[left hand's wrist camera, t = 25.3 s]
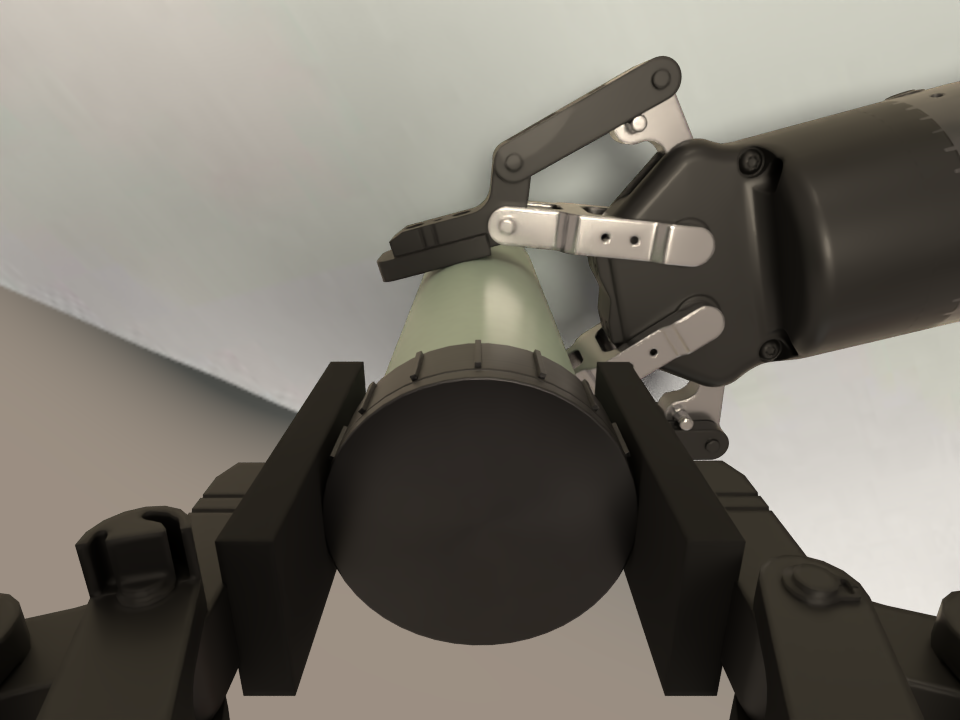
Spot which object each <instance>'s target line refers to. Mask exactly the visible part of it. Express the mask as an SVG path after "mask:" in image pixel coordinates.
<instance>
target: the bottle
mask: <svg viewBox="0 0 960 720" xmlns="http://www.w3.org/2000/svg"><path fill="white" fill-rule="evenodd" d="M475 340H481V343H492V344H501V345H509V346H513V347H517V348H521V349H525V350H528V351H531V352H534V350H535V349H536V350H539V351H540V352H541V355H542V356H544V357H546V358H548V359H550V360H552V361H554V362H556V363H558V364H559V365H561V366H563V367H564V368H565V369H567V370H568V371H570V372H571V373H572V374H574V375H575V372H574V370H573V367H572V365H571V362H570V359H569V357H568V354H567V352H566V349H565V347H564V344H563V342H562V339H561V336H560V334H559V331H558V329H557V326H556V324H555V321H554V319H553V316H552V313H551V311H550V308H549V306H548V303H547V301H546V298H545V296H544V293H543V290H542V288H541V285H540V283H539V280H538V278H537V275H536V273H535V270H534V267H533V265H532V262H531V260H530V258H529V255H528V254H527V252H526V250H525V249H524V248H523V247H517V246H506V245H498V246H494V247H491V256H487V257H484V258H480V259H476V260H472V261H468V262H463V263H459V264H456V265H453V266H449V267H445V268H441V269H438V270H434V271H430V272H426V273H425V274H424V276H423V279H422V282H421V284H420V287H419V289H418V292H417V294H416V297H415V299H414V302H413V305H412V307H411V310H410V312H409V315H408V317H407V320H406V322H405V325H404V328H403V330H402V333H401V335H400V338H399V340H398V343H397V346H396V348H395V351H394V353H393V356H392V358H391V361H390V363H389V366H388V369H387V371H386V374H385V376H386V375H387V374H388V373H390V372H391V371H392V370H394V369H395V368H396V367H398V366H400V365H402V364H403V363H405V362H407V361H409V360H410V359H412V358H414V357H415V356H416V353H417V352H419V351H422V353H423V354H424V353H427V352H429V351H432V350H436V349H440V348H443V347H447V346H453V345H460V344H467V343H475ZM575 376H576V375H575Z"/></svg>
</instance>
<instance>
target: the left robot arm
mask: <svg viewBox="0 0 960 720" xmlns="http://www.w3.org/2000/svg"><path fill="white" fill-rule="evenodd" d="M365 394H366V389H365V376H364V362H330V364H329V365H328V367H327V369H326V370H325V372H324V373H323V375H322V376H321V378H320V379H319V381H318V382H317V384H316V386H315V387H314V389H313V390H312V392H311V393H310V395H309V396H308V398H307V399H306V401H305V403H304V404H303V406H302V407H301V409H300V410H299V412H298V413H297V415H296V417H295V418H294V420H293V421H292V423H291V424H290V426H289V427H288V429H287V430H286V432H285V433H284V435H283V437H282V438H281V440H280V441H279V443H278V444H277V446H276V447H275V449H274V450H273V452H272V454H271V455H270V457H269V458H268V460H267V461H266V463H237V464H236V465H234V466H233V467H231V468H230V469H228V470H227V471H225V472H224V473H222V474H221V475H219V476H217V477H216V478H215V480H214V481H213V482H212V484H211V485H210V486H209V487H208V489H207V490H206V491H205V493H204V494H203V498H200V499H199V501H198V502H197V503H196V505H195V506H194V507H193V508H192V513H189V514H188V515H187V514H186V513H184V512H183V511H182V510H181V509H177V508H172V507H168V506H152V507H143V508H138V509H135V510H130V511H126V512H123V513H120V514H118V515H116V516H113V517H111V518H108V519H106V520H104V521H102V522H101V523H99V524H98V525H96V526H95V527H93V528H92V529H90V530H88V531H87V532H86V533H85V534H84V535H83V536H82V537H81V539H80V540H79V541H78V542H77V543H76V545H75V547H76V550H77V554H78V557H79V561H80V564H81V567H82V571H83V574H84V578H85V581H86V585H87V588H88V592H89V595H90V600H89V602H88V604H87V605H84V606H80V607H77V608H73V609H68V610H63V611H59V612H54V613H50V614H45V615H40V616H36V617H31V618H27V619H25V618H24V615H23V613H22V610H21V607H20V604H19V602H18V601H17V600H16V599H14V598H13V597H12V596H11V595H9V594H2V593H0V720H230V718H229V711H228V705H227V699H226V694H227V692H228V689H229V687H230V685H231V683H232V681H233V678H234V676H235V674H236V672H237V669H239V674H240V679H241V685H242V690H243V695H244V696H295V695H296V692H297V689H298V686H299V683H300V680H301V677H302V674H303V671H304V668H305V665H306V662H307V659H308V655H309V652H310V649H311V646H312V643H313V640H314V637H315V634H316V631H317V628H318V625H319V622H320V619H321V616H322V613H323V610H324V607H325V603H326V600H327V597H328V594H329V591H330V588H331V585H332V582H333V579H334V576H335V573H336V570H337V568H336V566H335V564H334V562H333V560H332V558H331V555H330V553H329V551H328V547H327V544H326V540H325V533H324V524H323V514H322V495H323V489H324V484H325V480H326V477H327V474H328V471H329V468H330V466H331V463H332V461H329V460H328V459H329V457H330V454H331V452H332V450H333V448H334V446H335V443H336V441H337V439H338V437H339V435H340V433H341V430H342V428H343V426H346V427H348V425H349V423H350V420H351V419H352V417H353V415H354V413H355V411H356V409H357V407H358V406H359V404H360V403H361V401H362V400H363V399H364V397H365ZM594 395H595V397H596V398H597V399H598V400H599V402H600V403H601V405H602V407H603V408H604V410H605V412H606V413H607V415H608V417H609V419H610V421H611V424H612V423H615V422H616V424H617V426H618V428H619V431H620V433H621V435H622V437H623V439H624V441H625V443H626V446H627V448H628V450H629V452H630V455H631V457H629V458H627V459H628V462H629V464H630V467H631V469H632V472H633V474H634V477H635V481H636V486H637V490H638V496H639V508H638V518H637V527H636V536H635V543H634V547H633V550H632V552H631V554H630V557H629V559H628V562H627V564H626V566H625V567H624V572H625V575H626V578H627V581H628V584H629V587H630V590H631V593H632V596H633V599H634V602H635V605H636V609H637V611H638V615H639V618H640V621H641V624H642V627H643V630H644V633H645V636H646V639H647V642H648V645H649V648H650V651H651V654H652V657H653V660H654V663H655V667H656V670H657V673H658V676H659V679H660V682H661V685H662V688H663V691H664V694H665V696H717V692H718V687H719V681H720V676H721V671H722V666H723V668H724V670H725V672H726V674H727V677H728V679H729V681H730V683H731V685H732V688H733V690H734V692H735V695H734V699H733V704H732V709H731V714H730V719H729V720H960V591H955V592H951V593H950V594H949V595H947V596H946V597H945V598H944V599H942V602H941V605H940V608H939V611H938V614H937V616H932V615H928V614H923V613H918V612H914V611H909V610H905V609H900V608H895V607H891V606H886V605H883V604H879V603H876V602H872V601H871V599H870V597H869V595H868V594H867V593H866V591H865V590H864V588H863V587H862V586H861V584H860V583H859V582H857V581H856V580H855V579H853V578H852V577H851V576H850V575H848V574H847V573H846V572H844V571H843V570H841V569H839V568H837V567H835V566H832V565H830V564H828V563H826V562H824V561H821V560H817V559H813V558H810V557H807V556H806V555H805V553H804V552H803V551H802V549H801V548H800V547H799V546H798V544H797V543H796V542H795V540H794V539H793V538H792V536H791V535H790V534H789V533H788V531H787V530H786V529H785V527H784V526H783V525H782V523H781V522H780V521H779V520H778V518H777V517H776V516H775V514H774V513H773V512H772V511H769V507H768V505H767V504H766V503H765V501H764V500H763V499H762V497H761V496H758V492H757V491H756V490H755V488H754V487H753V486H752V484H751V483H750V482H749V480H748V479H747V478H746V477H745V475H743V474H742V473H740V472H739V471H737V470H736V469H734V468H733V467H731V466H730V465H728V464H727V463H725V462H723V461H693V459H692V458H691V456H690V454H689V453H688V451H687V450H686V448H685V447H684V445H683V444H682V442H681V441H680V439H679V437H678V436H677V434H676V433H675V431H674V430H673V428H672V427H671V425H670V424H669V422H668V420H667V419H666V417H665V416H664V414H663V413H662V411H661V410H660V408H659V407H658V405H657V403H656V402H655V400H654V399H653V397H652V396H651V394H650V393H649V391H648V390H647V388H646V386H645V385H644V383H643V382H642V380H641V379H640V377H639V376H638V374H637V373H636V371H635V370H634V368H633V366H632V365H631V363H630V362H597V367H596V380H595V394H594Z"/></svg>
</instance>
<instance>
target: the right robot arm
mask: <svg viewBox="0 0 960 720" xmlns="http://www.w3.org/2000/svg"><path fill="white" fill-rule="evenodd" d="M681 78H682V76H681V70H680V67H679V65H678V64H677V62H676V61H675V60H673V59H672V58H670V57H667V56H659V57H655V58H653V59H651V60H648V61H646V62H644V63H641V64H639V65H636V66H634V67H632V68H630V69H629V70H627V71H625V72H623V73H622V74H620V75H618V76H617V77H615V78H613V79H611V80H610V81H608V82H606V83H604V84H603V85H601V86H599V87H597V88H596V89H594V90H592V91H590V92H589V93H587V94H585V95H584V96H582V97H580V98H578V99H577V100H575V101H573V102H571V103H570V104H568V105H566V106H564V107H563V108H561V109H559V110H557V111H556V112H554V113H552V114H551V115H549V116H547V117H545V118H544V119H542V120H540V121H538V122H537V123H535V124H533V125H531V126H530V127H528V128H526V129H524V130H523V131H521V132H519V133H518V134H516V135H514V136H512V137H511V138H509V139H507V140H505V141H504V142H502V143H500V144H499V145H498V146H497V147H496V149H495V151H494V153H493V158H492V160H493V162H492V172H491V183H490V190H489V193H488V196H487V198H486V199H485V200H484V201H483V202H482V203H481V204H480V205H479V206H477V207H474V208H471V209H467V210H464V211H460V212H456V213H453V214H449V215H445V216H441V217H438V218H435V219H430V220H427V221H423V222H419V223H415V224H412V225H408V226H406V227H405V228H404V229H402V230H401V231H400V232H398V233H397V234H396V235H395V236H394V237H393V238H392V239H391V241H390V242H389V243H390V246H391V249H392V250H390V251H387V252H385V253H383V254H382V255H381V257H380V258H379V259H378V260H377V264H378V267H379V270H380V273H381V276H382V279H383V282H391V281H395V280H399V279H403V278H407V277H411V276H415V275H418V274H422V273H426V272H430V271H434V270H438V269H441V268H445V267H449V266H453V265H456V264H459V263H463V262H468V261H472V260H476V259H480V258H484V257H487V256H491V247H494V246H498V245H506V246H517V247H528V248H539V249H550V250H557V251H561V252H564V253H568V254H574V255H585V256H588V261H589V266H590V268H591V270H592V272H593V274H594V276H595V278H596V280H597V282H598V284H599V297H598V311H599V316H600V321H601V323H599V324H598V325H596V326H594V327H593V328H591V329H590V330H588V331H586V332H585V333H583V334H582V335H581V336H579V337H578V338H577V339H576V341H575V343H574V344H573V345H572V346H571V347H570V348H568V349H567V350H566V352H567V354H568V357H569V359H570V362H571V365H572V367H573V370H574V372H575V375H576V377H578V378H579V379H580V380H581V381H583V380H584V379H586V380H587V381H588V383H589V385H590V387H591V390H592V392H593V394H595V380H596V367H597V362H630V363H631V365H632V366H633V368H634V370H635V371H636V373H637V374H638V376H639V377H640V379H642V378H644V377H646V376H647V375H649V374H651V373H652V372H654V371H656V370H657V369H660V370H662V371H665V372H668V373H670V374H673V375H676V376H678V377H681V378H684V379H686V380H689V382H688V384H687V385H686V386H685V387H683V388H682V389H680V390H677V391H671V392H666V393H664V394H663V395H662V397H661V398H660V399H659V401H658V402H656V403H657V405H658V407H659V408H660V410H661V411H662V413H663V414H664V416H665V417H666V419H667V420H668V422H669V424H670V425H671V427H672V428H673V430H674V431H675V433H676V434H677V436H678V437H679V439H680V441H681V442H682V444H683V445H684V447H685V448H686V450H687V451H688V453H689V454H690V456H691V458H692V459H693V460H713V459H716V458H719V457H721V456H722V455H723V454H724V453H725V452H726V451H727V449H728V446H729V440H728V437H727V436H726V434H725V433H724V432H723V431H722V429H721V427H720V425H719V422H720V415H721V408H722V401H723V393H724V386H725V385H728V384H730V383H732V382H734V381H736V380H737V379H738V378H740V377H741V376H742V375H743V374H744V373H746V372H747V371H749V370H750V369H752V368H754V367H756V366H758V365H760V364H763V363H767V362H773V361H783V360H793V359H800V358H806V357H810V356H814V355H818V354H823V353H827V352H831V351H836V350H840V349H844V348H848V347H853V346H857V345H861V344H865V343H870V342H874V341H878V340H882V339H887V338H891V337H895V336H899V335H903V334H908V333H912V332H916V331H920V330H925V329H929V328H933V327H937V326H941V325H946V324H950V323H954V322H959V321H960V81H959V82H955V83H950V84H946V85H942V86H939V87H935V88H931V89H927V90H925V89H921V90H910V91H906V92H903V93H899V94H897V95H894V96H891V97H889V98H887V99H885V101H883V102H879V103H875V104H871V105H868V106H864V107H860V108H857V109H853V110H849V111H846V112H842V113H838V114H834V115H831V116H827V117H823V118H820V119H816V120H812V121H808V122H805V123H801V124H797V125H794V126H790V127H786V128H782V129H779V130H775V131H771V132H768V133H764V134H760V135H757V136H753V137H749V138H745V139H742V140H738V141H734V142H729V143H722V144H720V143H715V142H712V141H709V140H705V139H693V137H692V134H691V132H690V129H689V127H688V124H687V121H686V119H685V116H684V114H683V111H682V109H681V106H680V104H679V101H678V99H677V96H676V94H675V93H676V92H677V90H678V89H679V87H680V84H681ZM607 133H610V135H611V137H612V138H613V139H614V140H615V141H616V142H618V143H621V144H638V143H640V142H643V141H648V142H650V143H652V144H653V145H654V146H655V147H656V149H657V151H658V152H657V153H656V154H655V155H654V156H653V157H652V158H651V160H650V161H649V162H648V163H647V164H646V165H645V166H644V168H643V169H642V170H641V171H640V172H639V173H638V174H637V176H636V177H635V178H634V179H633V180H632V181H631V183H630V184H629V185H628V186H627V187H626V188H625V189H624V191H623V192H622V193H621V194H620V195H619V196H618V197H617V199H616V200H615V201H614V202H613V203H612V204H611V205H610V207H606V206H596V205H585V204H574V203H562V202H558V203H548V202H538V201H528V197H529V188H530V180H531V176H532V175H534V174H536V173H538V172H539V171H541V170H543V169H545V168H547V167H548V166H550V165H552V164H554V163H556V162H557V161H559V160H561V159H563V158H564V157H566V156H568V155H570V154H572V153H573V152H575V151H577V150H579V149H581V148H582V147H584V146H586V145H588V144H589V143H591V142H593V141H595V140H597V139H598V138H600V137H602V136H604V135H606V134H607Z"/></svg>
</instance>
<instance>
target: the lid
mask: <svg viewBox="0 0 960 720" xmlns="http://www.w3.org/2000/svg"><path fill="white" fill-rule="evenodd" d="M629 457H631V455H630V452H629V450H628V448H627V446H626V443H625V441H624V439H623V437H622V435H621V433H620V431H619V428H618V426H617V424H616V422H615V423H612V424H611V421H610V419H609V417H608V415H607V413H606V412H605V410H604V408H603V407H602V405H601V403H600V402H599V400H598V399H597V398H596V397H595V395H594V394H593V392H592V390H591V387H590V385H589V383H588V381H587V380H586V379H584V380H583V381H581V380H580V379H579V378H578V377H576V376H575V375H574V374H572V373H571V372H570V371H568V370H567V369H565V368H564V367H563V366H561V365H559V364H558V363H556V362H554V361H552V360H550V359H548V358H546V357H544V356H542V355H541V352H540V351H539V350H536V349H535V350H534V352H531V351H528V350H525V349H521V348H517V347H513V346H509V345H501V344H492V343H481V340H475V343H467V344H460V345H453V346H447V347H443V348H440V349H436V350H432V351H429V352H427V353H424V354H423V353H422V351H419V352H417V353H416V356H415V357H414V358H412V359H410V360H409V361H407V362H405V363H403V364H402V365H400V366H398V367H396V368H395V369H394V370H392V371H391V372H390V373H388V374H387V375H386V376H384V377H383V378H382V379H381V380H380V381H379V382H378V383H377V384H375V383H374V382H372V383H371V384H370V385H369V387H368V390H367V392H366V394H365V397H364V399H363V400H362V401H361V403H360V404H359V406H358V407H357V409H356V411H355V413H354V415H353V417H352V419H351V420H350V423H349V425H348V427H346V426H343V428H342V430H341V433H340V435H339V437H338V439H337V441H336V443H335V446H334V448H333V450H332V452H331V454H330V457H329V459H328V460H329V461H332V463H331V466H330V468H329V471H328V474H327V477H326V480H325V484H324V489H323V495H322V514H323V524H324V533H325V540H326V544H327V547H328V551H329V553H330V555H331V558H332V560H333V562H334V564H335V566H336V568H337V570H338V571H339V573H340V574H341V576H342V578H343V579H344V581H345V582H346V583H347V585H348V586H349V587H350V588H351V589H352V591H353V592H354V593H355V594H356V595H357V596H358V597H359V598H360V599H361V600H362V601H363V602H364V603H365V604H366V605H367V606H369V607H370V608H371V609H372V610H374V611H375V612H377V613H378V614H379V615H381V616H382V617H383V618H385V619H387V620H389V621H390V622H392V623H394V624H396V625H397V626H399V627H401V628H404V629H406V630H408V631H411V632H413V633H415V634H418V635H421V636H425V637H428V638H431V639H434V640H439V641H444V642H449V643H454V644H465V645H496V644H505V643H512V642H517V641H521V640H526V639H530V638H533V637H536V636H539V635H542V634H545V633H548V632H550V631H552V630H554V629H557V628H559V627H561V626H564V625H565V624H567V623H569V622H570V621H572V620H574V619H575V618H577V617H579V616H580V615H582V614H583V613H584V612H585V611H587V610H588V609H589V608H591V607H592V606H593V605H594V604H595V603H597V602H598V601H599V600H600V599H601V598H602V597H603V596H604V595H605V594H606V593H607V592H608V590H609V589H610V588H611V587H612V585H613V584H614V583H615V581H616V580H617V579H618V577H619V576H620V574H621V572H622V570H623V569H624V567H625V566H626V564H627V562H628V559H629V557H630V554H631V552H632V550H633V547H634V543H635V536H636V527H637V518H638V508H639V496H638V490H637V486H636V481H635V477H634V474H633V472H632V469H631V467H630V464H629V462H628V459H627V458H629Z"/></svg>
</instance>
